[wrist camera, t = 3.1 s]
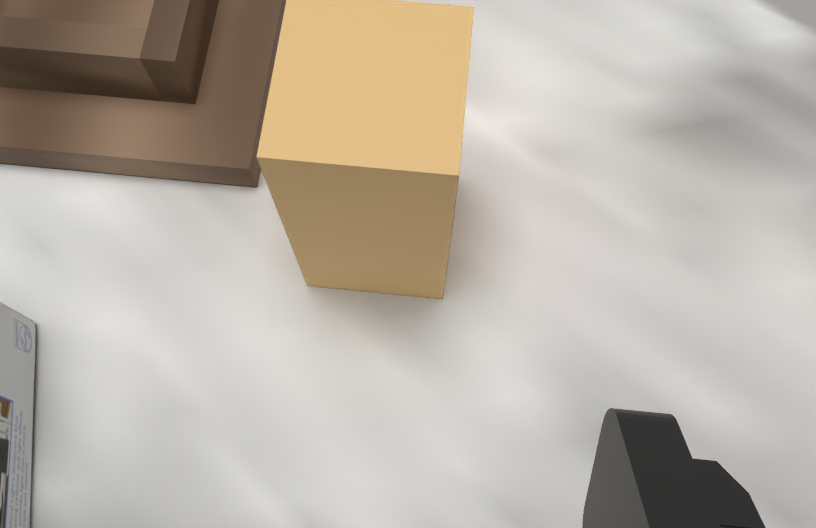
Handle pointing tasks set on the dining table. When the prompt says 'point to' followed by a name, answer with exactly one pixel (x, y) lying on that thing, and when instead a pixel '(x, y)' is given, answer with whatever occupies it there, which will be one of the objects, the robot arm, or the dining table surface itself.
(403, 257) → the ochre post
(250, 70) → the walnut dock
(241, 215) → the dining table surface
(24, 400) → the light bulb box
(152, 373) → the dining table surface
